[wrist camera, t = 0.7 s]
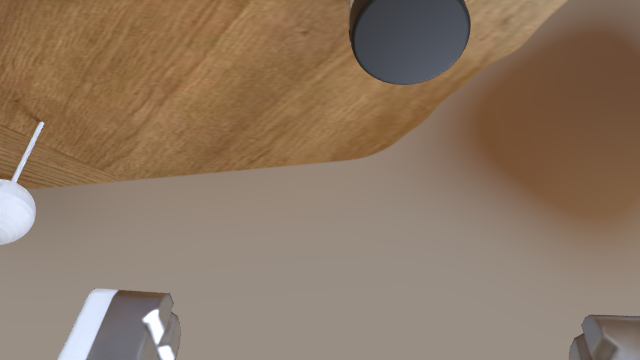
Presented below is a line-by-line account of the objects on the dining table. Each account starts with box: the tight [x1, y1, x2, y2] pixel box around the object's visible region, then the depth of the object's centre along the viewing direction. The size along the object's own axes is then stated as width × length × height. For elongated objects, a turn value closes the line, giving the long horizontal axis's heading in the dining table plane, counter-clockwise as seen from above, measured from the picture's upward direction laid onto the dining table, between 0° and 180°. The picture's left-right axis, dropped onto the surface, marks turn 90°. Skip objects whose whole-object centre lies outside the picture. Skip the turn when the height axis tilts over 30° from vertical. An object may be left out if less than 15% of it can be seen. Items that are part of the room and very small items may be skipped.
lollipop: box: [0, 122, 44, 245], centre depth 52 cm, size 6×6×15 cm
